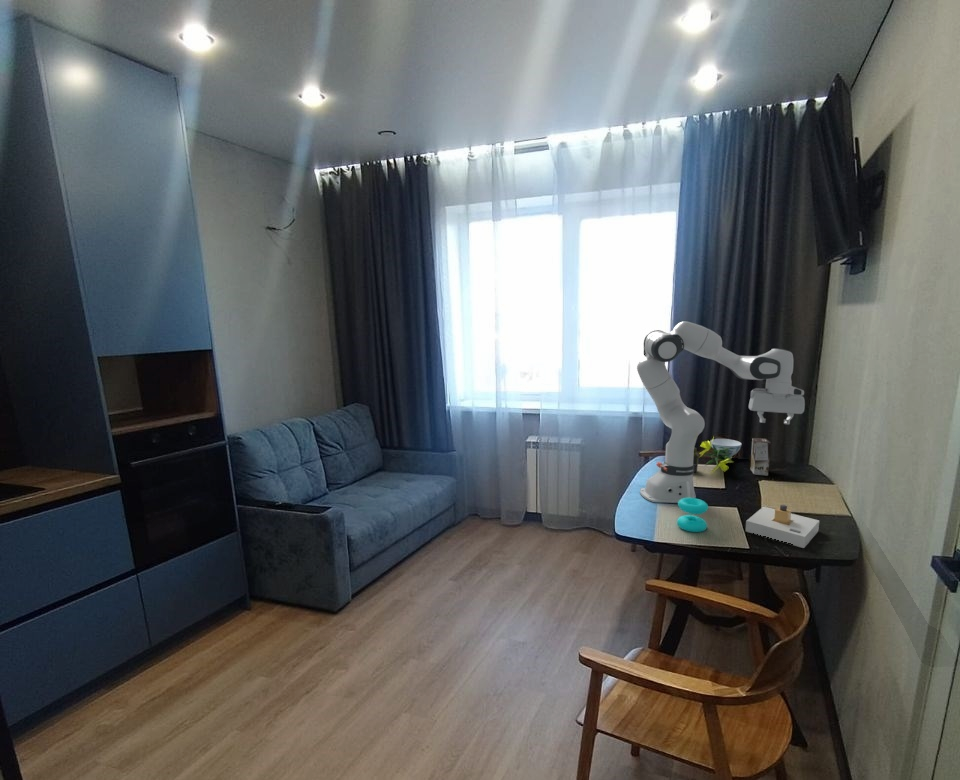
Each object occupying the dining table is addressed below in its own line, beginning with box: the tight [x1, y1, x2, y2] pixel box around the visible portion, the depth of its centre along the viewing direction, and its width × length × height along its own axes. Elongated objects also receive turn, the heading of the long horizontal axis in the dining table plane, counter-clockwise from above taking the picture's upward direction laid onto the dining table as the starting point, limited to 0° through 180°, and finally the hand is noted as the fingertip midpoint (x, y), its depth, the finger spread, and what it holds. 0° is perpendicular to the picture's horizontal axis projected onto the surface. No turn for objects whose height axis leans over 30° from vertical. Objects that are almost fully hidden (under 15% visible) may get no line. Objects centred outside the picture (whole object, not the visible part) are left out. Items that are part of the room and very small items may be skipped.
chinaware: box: [710, 438, 742, 459], centre depth 263 cm, size 15×15×8 cm
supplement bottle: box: [693, 447, 699, 474], centre depth 239 cm, size 7×7×12 cm
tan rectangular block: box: [774, 504, 792, 525], centre depth 174 cm, size 4×4×10 cm
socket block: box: [745, 506, 820, 549], centre depth 174 cm, size 18×18×4 cm
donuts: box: [676, 497, 709, 533], centre depth 178 cm, size 10×10×10 cm
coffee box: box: [749, 437, 772, 477], centre depth 236 cm, size 9×6×16 cm
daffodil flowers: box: [698, 436, 734, 475], centre depth 242 cm, size 17×15×35 cm
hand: (774, 423), depth 197 cm, fingers open, 8 cm apart
